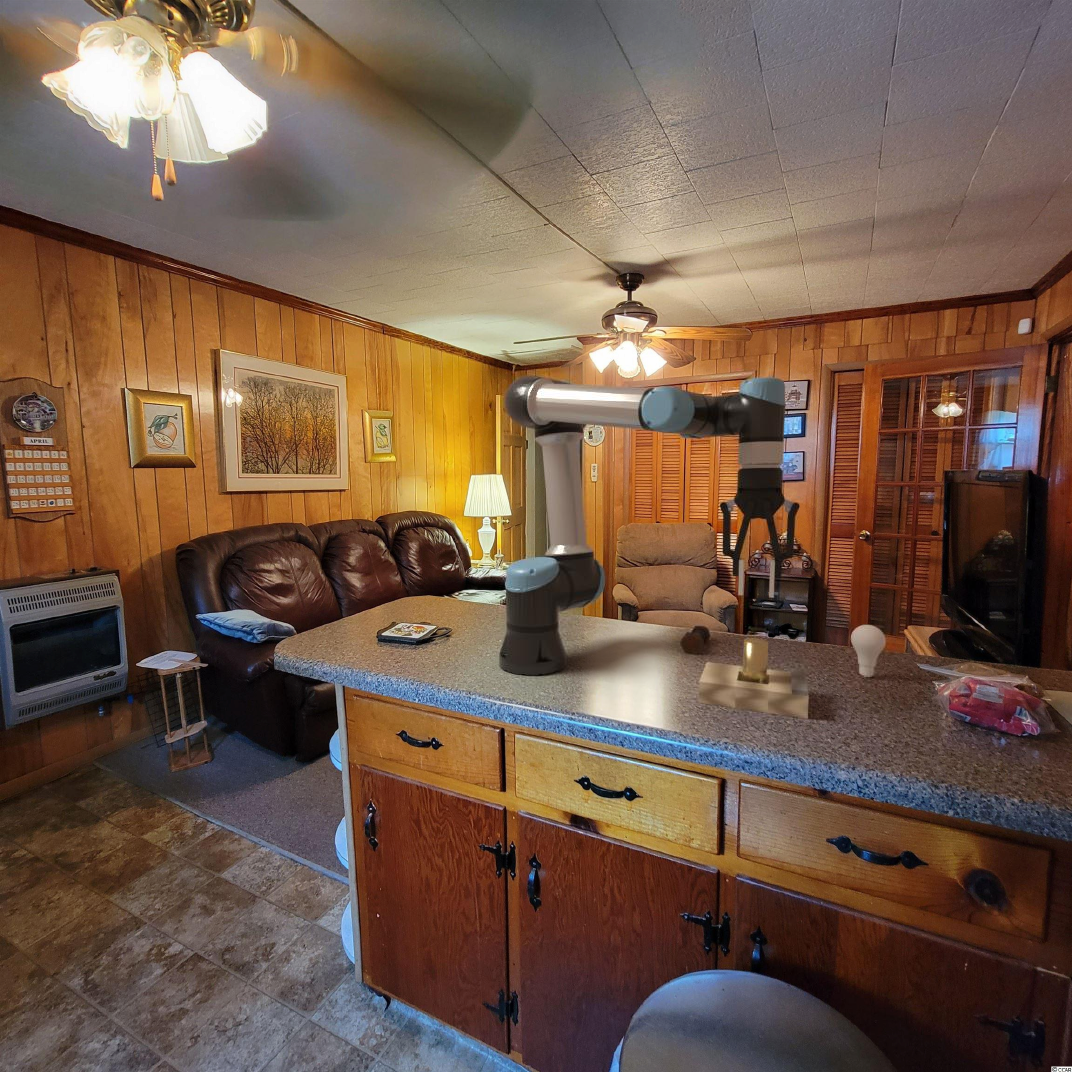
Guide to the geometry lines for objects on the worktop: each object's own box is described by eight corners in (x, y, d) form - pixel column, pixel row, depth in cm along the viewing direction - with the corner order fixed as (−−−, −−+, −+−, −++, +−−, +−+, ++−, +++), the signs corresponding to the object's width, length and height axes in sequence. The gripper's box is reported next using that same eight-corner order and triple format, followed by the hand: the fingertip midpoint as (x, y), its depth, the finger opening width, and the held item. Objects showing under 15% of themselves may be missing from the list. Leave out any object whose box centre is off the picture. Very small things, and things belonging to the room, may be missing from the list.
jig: (698, 702, 101) (699, 677, 101) (706, 681, 112) (707, 658, 112) (807, 718, 94) (808, 691, 93) (804, 694, 105) (805, 669, 104)
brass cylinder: (740, 700, 102) (743, 642, 101) (742, 692, 106) (744, 636, 104) (765, 704, 100) (768, 645, 99) (765, 696, 104) (768, 639, 103)
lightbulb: (854, 670, 118) (856, 620, 117) (887, 677, 114) (890, 625, 112) (845, 677, 114) (847, 625, 113) (878, 685, 109) (881, 630, 108)
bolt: (705, 646, 143) (694, 660, 129) (688, 634, 144) (676, 647, 131) (718, 628, 141) (707, 641, 128) (700, 616, 143) (689, 628, 129)
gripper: (813, 466, 99) (808, 594, 101) (711, 468, 106) (708, 588, 108) (816, 465, 92) (810, 603, 94) (706, 467, 99) (703, 595, 101)
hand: (755, 594), depth 101 cm, fingers open, 4 cm apart
